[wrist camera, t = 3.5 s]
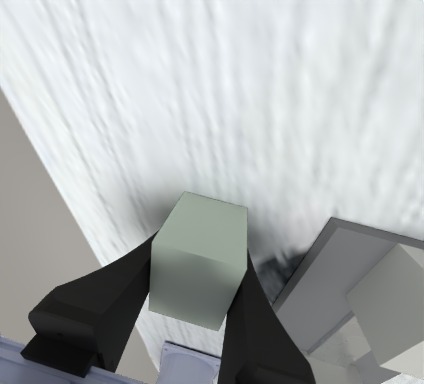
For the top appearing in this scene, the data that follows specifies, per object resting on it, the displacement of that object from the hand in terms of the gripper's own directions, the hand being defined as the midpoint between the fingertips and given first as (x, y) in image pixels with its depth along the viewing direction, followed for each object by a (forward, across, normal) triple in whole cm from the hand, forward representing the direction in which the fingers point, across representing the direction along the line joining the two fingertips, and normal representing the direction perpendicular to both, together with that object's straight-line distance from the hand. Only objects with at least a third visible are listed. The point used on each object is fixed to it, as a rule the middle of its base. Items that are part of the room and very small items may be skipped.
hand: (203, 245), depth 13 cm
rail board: (+1, -14, +6) cm, 15 cm away
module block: (+1, 0, 0) cm, 1 cm away
